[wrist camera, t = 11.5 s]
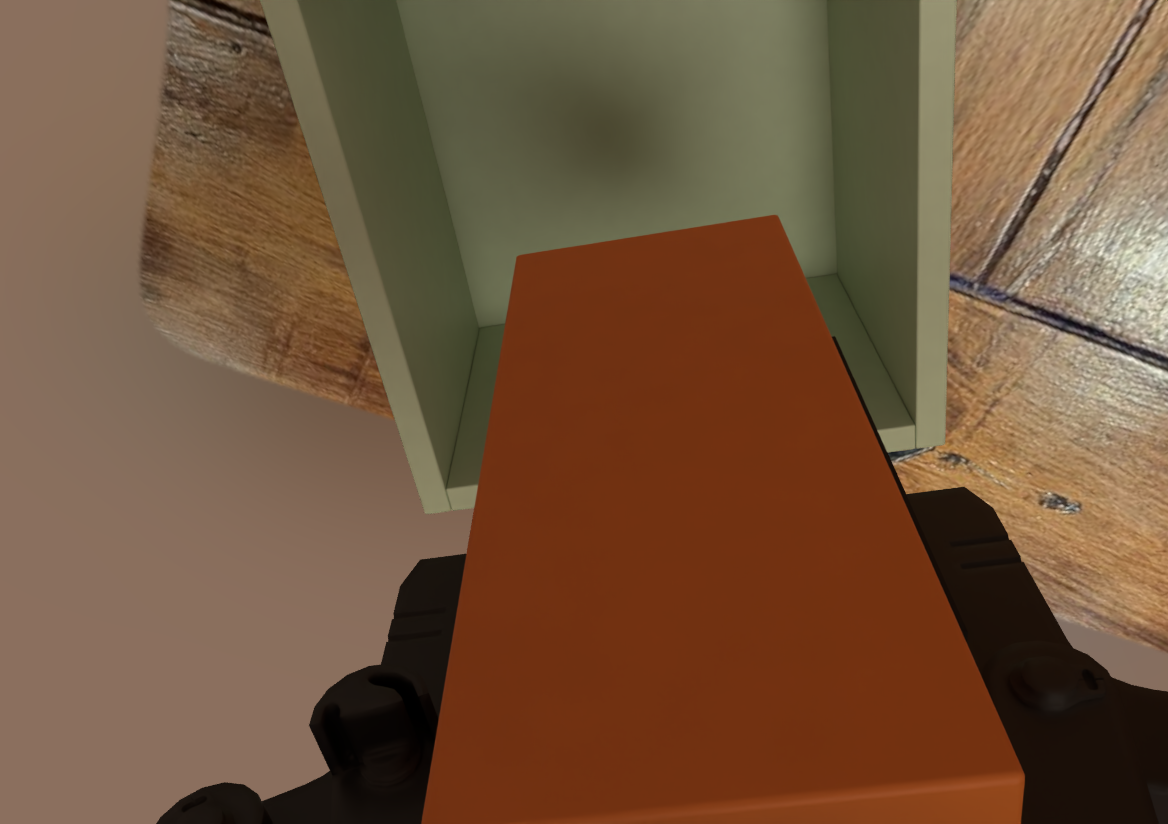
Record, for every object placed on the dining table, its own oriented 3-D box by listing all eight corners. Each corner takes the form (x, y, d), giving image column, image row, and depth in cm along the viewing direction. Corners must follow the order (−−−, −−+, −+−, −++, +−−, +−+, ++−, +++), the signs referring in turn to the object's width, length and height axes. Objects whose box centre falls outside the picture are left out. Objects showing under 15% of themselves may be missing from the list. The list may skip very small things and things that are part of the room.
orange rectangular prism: (590, 593, 19) (588, 1254, 10) (514, 253, 15) (415, 839, 7) (803, 567, 18) (984, 1231, 10) (778, 211, 15) (1029, 776, 6)
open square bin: (464, 341, 37) (424, 515, 28) (352, -84, 30) (248, -32, 21) (856, 282, 36) (945, 445, 27) (843, -179, 28) (961, -168, 19)
